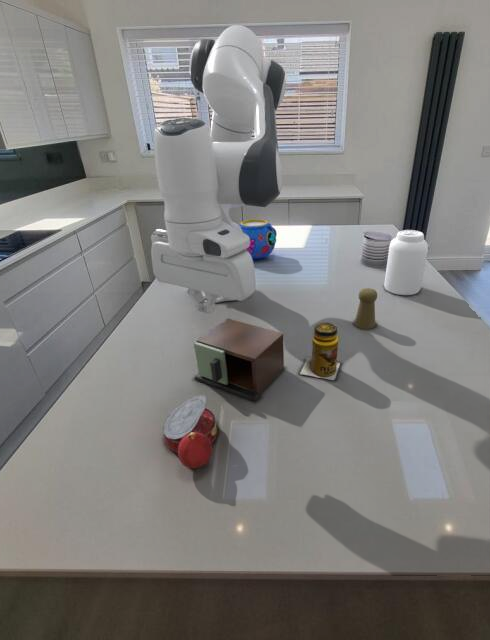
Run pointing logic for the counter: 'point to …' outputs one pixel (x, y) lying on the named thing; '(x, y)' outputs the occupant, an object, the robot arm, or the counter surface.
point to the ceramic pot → (259, 237)
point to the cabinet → (246, 356)
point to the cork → (366, 309)
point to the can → (375, 248)
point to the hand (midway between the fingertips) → (206, 311)
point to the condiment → (323, 353)
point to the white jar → (406, 263)
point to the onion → (195, 450)
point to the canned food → (189, 422)
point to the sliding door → (211, 363)
